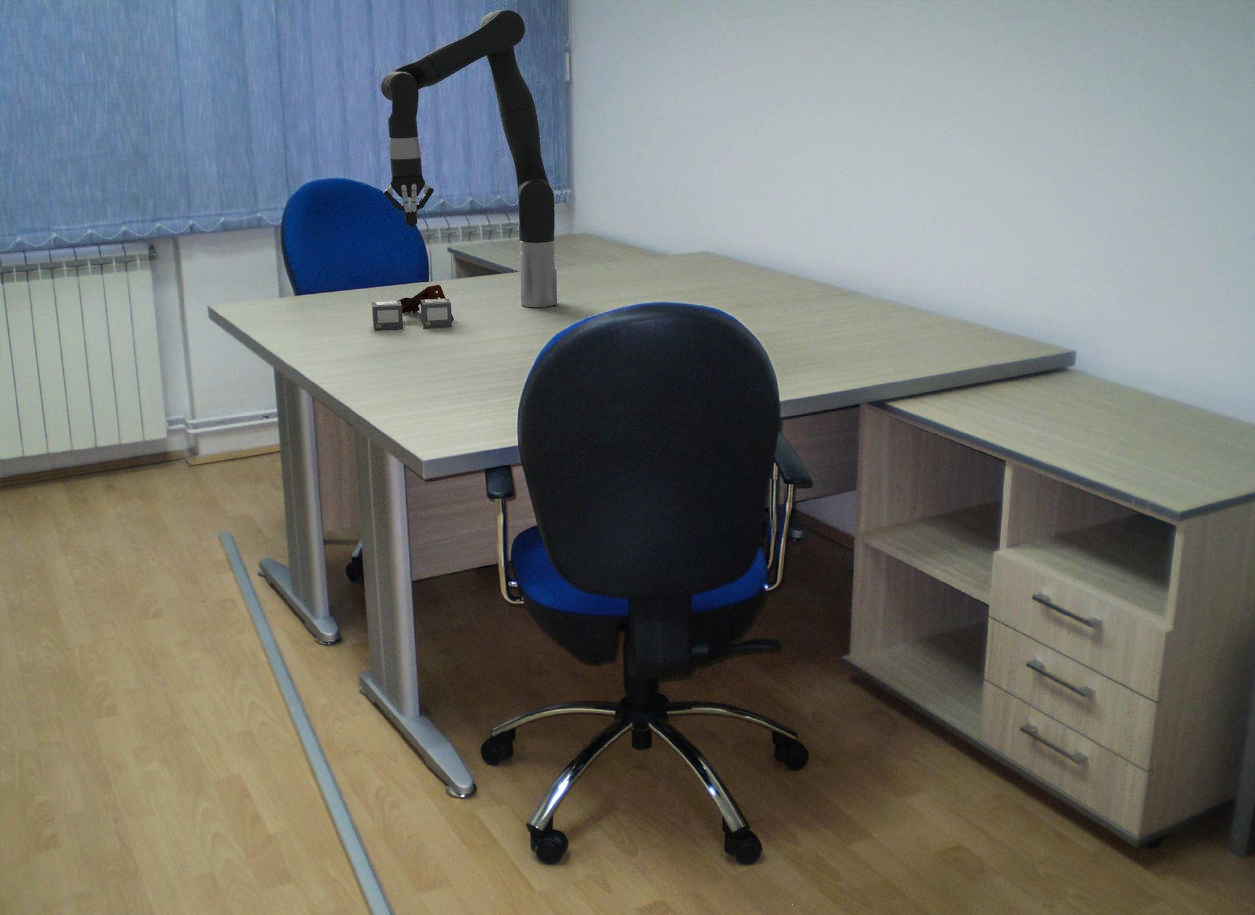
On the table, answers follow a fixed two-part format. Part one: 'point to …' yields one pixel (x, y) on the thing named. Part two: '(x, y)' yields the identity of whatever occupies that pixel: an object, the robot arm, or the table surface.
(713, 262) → the table surface
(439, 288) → the bracket
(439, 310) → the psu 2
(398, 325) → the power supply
